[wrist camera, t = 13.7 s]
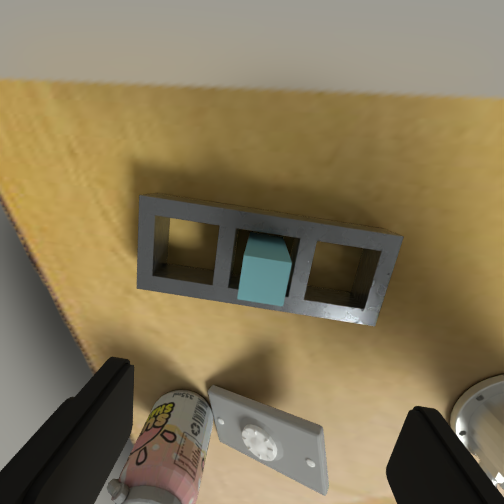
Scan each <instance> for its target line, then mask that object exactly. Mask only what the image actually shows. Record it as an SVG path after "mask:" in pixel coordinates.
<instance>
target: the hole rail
mask: <svg viewBox="0 0 504 504" xmlns="http://www.w3.org/2000/svg"><path fill="white" fill-rule="evenodd" d="M170 218H175V219H182V220H188V221H194V222H201V223H207V224H213V225H220V227H219V236H218V244H217V253H216V261H215V270H214V271H213V270H207V269H201V268H194V267H188V266H182V265H175V264H169V263H167V257H168V241H169V225H170ZM239 229H245V230H252V231H258V232H264V233H271V234H277V235H283V236H290V237H294V241H293V245H292V250H291V255H290V259H291V262H292V265H291V270H290V275H289V280H288V285H287V289H286V294H285V299H284V304H283V306H276V305H270V304H264V303H258V302H252V301H245V300H239V299H237V297H238V290H239V284H240V277H241V275H238V274H233V267H234V260H235V253H236V246H237V239H238V231H239ZM402 240H403V236H401V235H398V234H396V233H393V232H391V231H388V230H386V229H383V228H377V227H370V226H364V225H358V224H351V223H345V222H339V221H332V220H326V219H320V218H313V217H307V216H301V215H294V214H288V213H281V212H275V211H269V210H262V209H256V208H250V207H243V206H237V205H231V204H224V203H218V202H211V201H205V200H199V199H192V198H186V197H180V196H173V195H167V194H161V193H153V194H144V195H139V224H138V259H137V289H143V290H150V291H156V292H162V293H169V294H175V295H181V296H188V297H194V298H200V299H207V300H213V301H219V302H225V303H232V304H238V305H244V306H251V307H257V308H263V309H270V310H276V311H282V312H289V313H295V314H301V315H307V316H314V317H320V318H326V319H333V320H339V321H345V322H352V323H358V324H364V325H371V326H375V324H376V321H377V318H378V315H379V312H380V309H381V306H382V303H383V300H384V296H385V293H386V290H387V287H388V284H389V281H390V278H391V275H392V272H393V268H394V265H395V262H396V259H397V256H398V253H399V250H400V247H401V243H402ZM317 241H321V242H328V243H334V244H340V245H347V246H353V247H359V248H363V251H362V255H361V258H360V262H359V265H358V269H357V273H356V276H355V280H354V283H353V287H352V290H351V292H346V291H340V290H333V289H327V288H321V287H314V286H308V285H307V283H308V278H309V274H310V269H311V265H312V261H313V256H314V252H315V247H316V243H317Z"/></svg>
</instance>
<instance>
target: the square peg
mask: <svg viewBox="0 0 504 504" xmlns="http://www.w3.org/2000/svg"><path fill="white" fill-rule="evenodd" d="M291 265H292V262H291V259H290V256H289V253H288V250H287V247H286V244H285V241H284V238H283V237H280V236H273V235H267V234H261V233H255V232H250V234H249V238H248V242H247V245H246V249H245V253H244V257H243V264H242V270H241V277H240V284H239V290H238V297H237V299H239V300H245V301H252V302H258V303H264V304H270V305H276V306H283V304H284V299H285V294H286V289H287V285H288V280H289V275H290V270H291Z"/></svg>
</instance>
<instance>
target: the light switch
mask: <svg viewBox="0 0 504 504" xmlns="http://www.w3.org/2000/svg"><path fill="white" fill-rule="evenodd" d="M208 395H209V400H210V404H211V408H212V412H213V416H214V420H215V424H216V429H217V433H218V437H219V440H220V442H222V443H224V444H226V445H228V446H230V447H232V448H234V449H236V450H237V451H239V452H241V453H243V454H245V455H247V456H249V457H251V458H253V459H255V460H257V461H259V462H260V463H262V464H264V465H266V466H268V467H270V468H272V469H274V470H276V471H278V472H280V473H282V474H283V475H285V476H287V477H289V478H291V479H293V480H295V481H297V482H299V483H301V484H303V485H305V486H307V487H308V488H310V489H312V490H314V491H316V492H318V493H320V494H322V495H324V496H325V495H326V494H327V491H328V487H329V481H328V471H327V462H326V452H325V442H324V432H323V427H322V426H320V425H318V424H315V423H313V422H310V421H308V420H305V419H302V418H300V417H297V416H294V415H292V414H289V413H286V412H284V411H281V410H278V409H276V408H273V407H270V406H268V405H265V404H262V403H260V402H257V401H254V400H252V399H249V398H247V397H244V396H241V395H239V394H236V393H233V392H231V391H228V390H225V389H223V388H220V387H217V386H215V385H212V386H211V387H210V388H209V390H208Z"/></svg>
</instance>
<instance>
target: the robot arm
mask: <svg viewBox="0 0 504 504" xmlns="http://www.w3.org/2000/svg"><path fill="white" fill-rule="evenodd" d="M133 391H134V365H130V361H129V360H128V359H123V358H116V357H110V358H109V359H108V360H107V361H106V362H105V363H104V364H103V366H102V367H101V368H100V369H99V370H98V371H97V372H96V374H95V375H94V376H93V377H92V378H91V379H90V380H89V382H88V383H87V384H86V385H85V386H84V387H83V388H82V389H81V391H80V392H79V393H78V394H77V395H76V396H75V397H70V398H68V399H67V400H66V401H65V402H63V403H62V404H61V405H60V406H59V408H58V409H57V410H56V411H55V412H54V413H53V414H52V415H51V416H50V417H49V419H48V420H47V421H46V422H45V423H44V424H43V425H42V426H41V427H40V429H39V430H38V431H37V432H36V433H35V434H34V435H33V436H32V437H31V438H30V439H29V441H28V442H27V443H26V444H25V445H24V446H23V447H22V448H21V449H20V450H19V452H18V453H17V454H16V455H15V456H14V457H13V458H12V459H11V460H10V462H9V463H8V464H7V465H6V466H5V467H4V468H3V469H2V470H1V472H0V504H94V503H95V501H96V499H97V497H98V495H99V493H100V491H101V490H102V488H103V486H104V484H105V482H106V480H107V478H108V476H109V474H110V472H111V471H112V469H113V467H114V465H115V463H116V461H117V459H118V457H119V456H120V453H121V451H122V450H123V448H124V446H125V444H126V442H127V440H128V438H129V436H130V434H131V430H132V425H133ZM450 425H451V427H450V426H449V424H448V423H447V422H446V420H445V419H444V418H443V416H442V415H441V414H440V413H439V411H438V410H436V409H434V408H427V407H421V406H415V407H414V408H413V410H410V411H409V412H408V414H407V417H406V419H405V422H404V424H403V427H402V429H401V432H400V434H399V437H398V439H397V442H396V444H395V447H394V449H393V452H392V454H391V457H390V459H389V462H388V464H387V467H386V475H387V480H388V482H389V485H390V487H391V490H392V492H393V495H394V497H395V499H396V502H397V504H504V497H503V496H502V494H501V493H500V492H499V491H498V489H497V484H499V485H500V486H501V487H502V488H503V489H504V375H499V376H495V377H491V378H488V379H486V380H483V381H481V382H479V383H477V384H476V385H474V386H472V387H471V388H470V389H468V390H467V391H466V392H465V393H464V394H463V395H462V396H461V397H460V398H459V399H458V401H457V402H456V404H455V406H454V407H453V410H452V413H451V419H450ZM471 453H472V454H473V455H476V456H478V457H479V459H480V461H479V464H478V463H477V461H476V460H475V459H474V457H473V456H472V455H471Z"/></svg>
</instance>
